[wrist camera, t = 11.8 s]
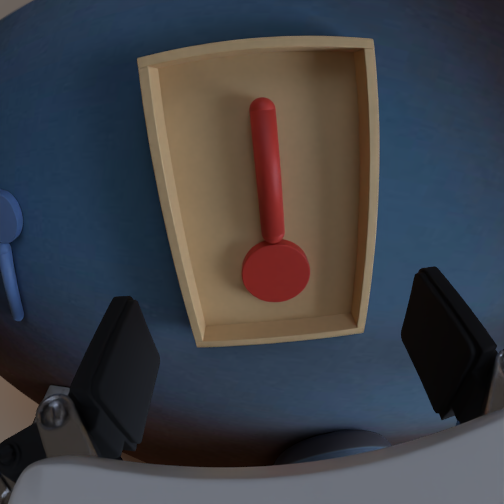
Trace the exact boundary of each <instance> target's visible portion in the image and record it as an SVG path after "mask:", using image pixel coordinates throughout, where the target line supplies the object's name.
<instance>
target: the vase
mask: <svg viewBox="0 0 504 504" xmlns="http://www.w3.org/2000/svg"><path fill="white" fill-rule="evenodd" d="M390 446H392V445H391V444H390V442H389V441H388V440H387V439H386V438H384V437H383V436H381V435H380V434H377V433H374V432H371V431H364V430H346V431H338V432H332V433H327V434H322V435H319V436H315V437H312V438H309V439H306V440H304V441H301V442H299V443H297V444H295V445H293V446H291V447H290V448H288V449H287V450H285V451H284V452H283V453H282V454H281V455H280V456H279V457H278V458H277V460H276V461H275V463H274V465H286V464H296V463H305V462H312V461H320V460H326V459H333V458H338V457H344V456H349V455H354V454H359V453H364V452H369V451H373V450H378V449H382V448H386V447H390ZM274 465H273V466H274Z"/></svg>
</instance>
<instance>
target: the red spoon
mask: <svg viewBox="0 0 504 504" xmlns="http://www.w3.org/2000/svg"><path fill="white" fill-rule="evenodd" d="M249 113H250V123H251V133H252V142H253V152H254V162H255V172H256V182H257V192H258V203H259V213H260V223H261V233H262V237H263V239H264V240H265V241H262V242H260V243H258V244H256V245H255V246H253V247H252V248H251V249H250V250H249V251H248V253H247V254H246V256H245V258H244V260H243V264H242V280H243V283H244V285H245V287H246V289H247V290H248V291H249V292H250V293H251V294H252V295H253V296H254V297H256V298H258V299H260V300H263V301H266V302H283V301H287V300H289V299H292V298H294V297H295V296H297V295H298V294H299V293H301V292H302V291H303V289H304V288H305V287H306V285H307V283H308V281H309V278H310V266H309V262H308V259H307V256H306V254H305V253H304V251H303V250H302V249H301V248H300V247H299V246H298V245H296V244H295V243H293V242H291V241H288V240H285V239H283V237H284V234H285V226H284V210H283V195H282V181H281V167H280V155H279V142H278V130H277V119H276V108H275V105H274V103H273V102H272V101H271V100H270V99H268V98H265V97H260V98H256V99H255V100H253V101H252V103H251V104H250V107H249Z"/></svg>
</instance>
